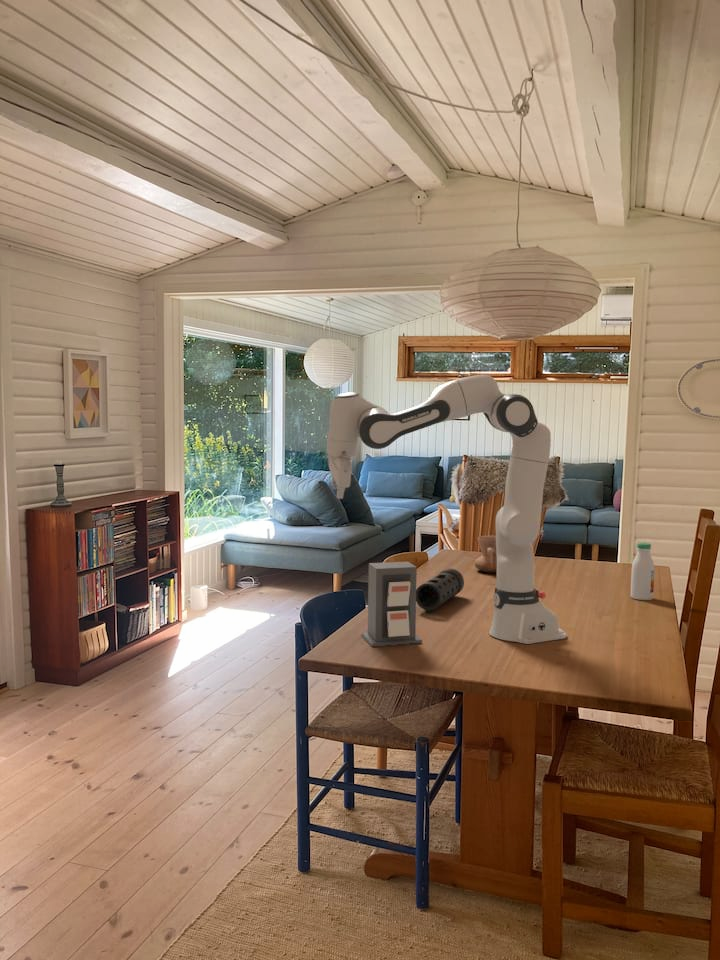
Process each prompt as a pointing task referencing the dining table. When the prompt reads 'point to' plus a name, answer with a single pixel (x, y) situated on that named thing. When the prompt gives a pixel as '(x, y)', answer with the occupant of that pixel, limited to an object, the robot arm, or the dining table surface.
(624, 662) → the dining table surface
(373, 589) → the grey framed tower stand
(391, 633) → the lower rocker
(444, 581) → the muzzle brake
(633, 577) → the milk bottle
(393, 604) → the upper rocker
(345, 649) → the dining table surface
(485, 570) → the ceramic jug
